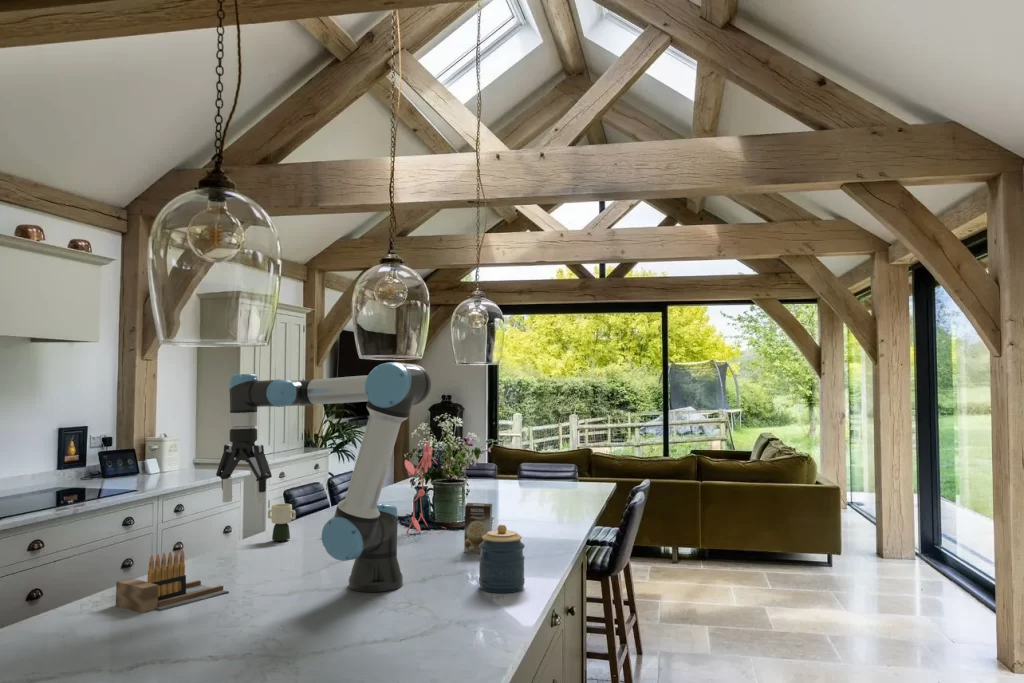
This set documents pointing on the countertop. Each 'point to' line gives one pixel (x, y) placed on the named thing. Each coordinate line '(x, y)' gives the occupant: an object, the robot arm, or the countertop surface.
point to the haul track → (146, 595)
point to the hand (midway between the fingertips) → (243, 502)
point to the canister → (501, 561)
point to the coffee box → (476, 525)
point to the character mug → (281, 520)
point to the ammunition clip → (168, 575)
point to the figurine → (427, 464)
